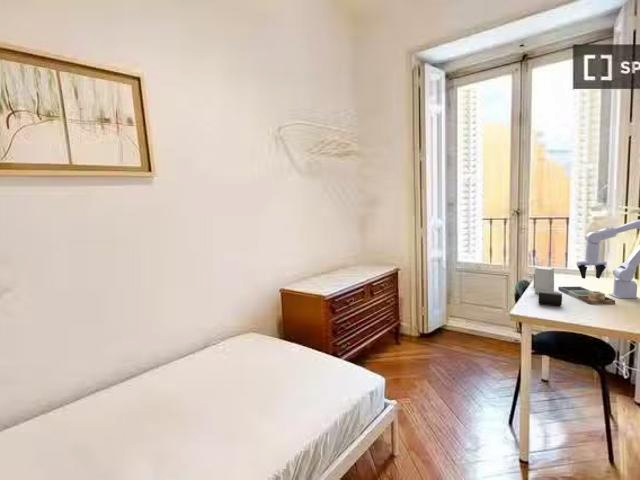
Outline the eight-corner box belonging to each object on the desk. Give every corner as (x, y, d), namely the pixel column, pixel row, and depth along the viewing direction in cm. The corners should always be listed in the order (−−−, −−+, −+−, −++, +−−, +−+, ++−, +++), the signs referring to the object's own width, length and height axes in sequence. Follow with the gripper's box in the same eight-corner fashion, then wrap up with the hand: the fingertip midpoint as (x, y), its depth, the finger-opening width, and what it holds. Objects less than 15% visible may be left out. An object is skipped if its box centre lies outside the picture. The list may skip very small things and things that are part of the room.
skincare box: (554, 293, 208) (555, 268, 206) (548, 295, 205) (550, 269, 203) (538, 291, 215) (539, 266, 213) (533, 292, 212) (534, 267, 210)
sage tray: (590, 294, 205) (591, 290, 205) (602, 298, 196) (602, 295, 196) (568, 294, 206) (568, 290, 206) (578, 298, 197) (578, 295, 197)
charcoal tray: (580, 289, 215) (580, 286, 215) (590, 294, 206) (590, 290, 206) (558, 289, 216) (558, 286, 216) (567, 294, 207) (567, 290, 207)
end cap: (538, 305, 188) (538, 292, 187) (538, 301, 194) (538, 289, 193) (561, 308, 183) (562, 294, 182) (560, 304, 189) (561, 291, 189)
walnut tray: (602, 299, 196) (603, 295, 195) (615, 304, 187) (615, 300, 186) (578, 299, 197) (578, 295, 196) (589, 304, 188) (589, 300, 187)
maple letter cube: (597, 300, 194) (598, 291, 194) (604, 303, 189) (605, 293, 189) (587, 300, 195) (588, 291, 194) (594, 303, 190) (594, 293, 189)
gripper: (582, 255, 199) (581, 279, 200) (611, 255, 197) (609, 279, 199) (574, 253, 206) (573, 277, 207) (602, 253, 204) (600, 276, 206)
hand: (590, 278), depth 204 cm, fingers open, 7 cm apart
